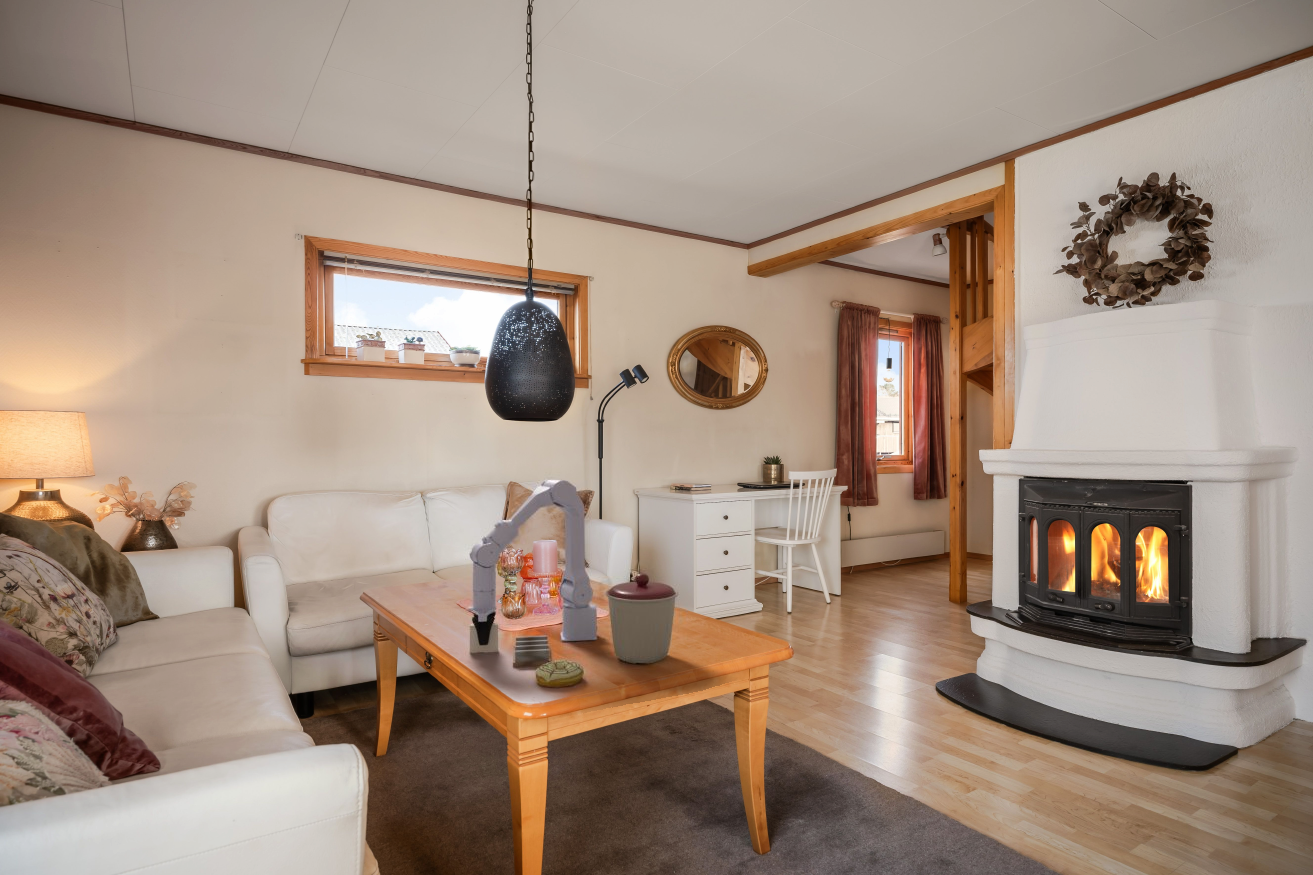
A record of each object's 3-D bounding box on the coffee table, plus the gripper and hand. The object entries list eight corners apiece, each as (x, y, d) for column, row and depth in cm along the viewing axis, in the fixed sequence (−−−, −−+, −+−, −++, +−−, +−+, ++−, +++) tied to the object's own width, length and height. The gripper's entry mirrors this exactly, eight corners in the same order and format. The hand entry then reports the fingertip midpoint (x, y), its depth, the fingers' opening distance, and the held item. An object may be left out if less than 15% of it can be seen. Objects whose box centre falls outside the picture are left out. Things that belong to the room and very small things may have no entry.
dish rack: (549, 648, 186) (549, 634, 186) (550, 664, 173) (550, 650, 173) (513, 649, 185) (513, 636, 185) (512, 666, 171) (512, 652, 171)
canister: (692, 658, 178) (693, 574, 178) (637, 674, 166) (637, 583, 166) (645, 643, 191) (645, 564, 191) (590, 656, 179) (591, 572, 179)
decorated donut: (528, 679, 163) (528, 662, 163) (570, 671, 169) (570, 655, 169) (546, 692, 154) (546, 675, 154) (591, 683, 160) (591, 666, 160)
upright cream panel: (498, 649, 185) (498, 622, 185) (497, 651, 183) (498, 624, 183) (470, 651, 184) (470, 623, 184) (469, 653, 182) (469, 625, 182)
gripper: (470, 584, 190) (470, 635, 190) (465, 596, 175) (465, 651, 176) (497, 583, 191) (497, 634, 191) (495, 595, 177) (495, 650, 177)
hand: (484, 642), depth 183 cm, fingers open, 3 cm apart
